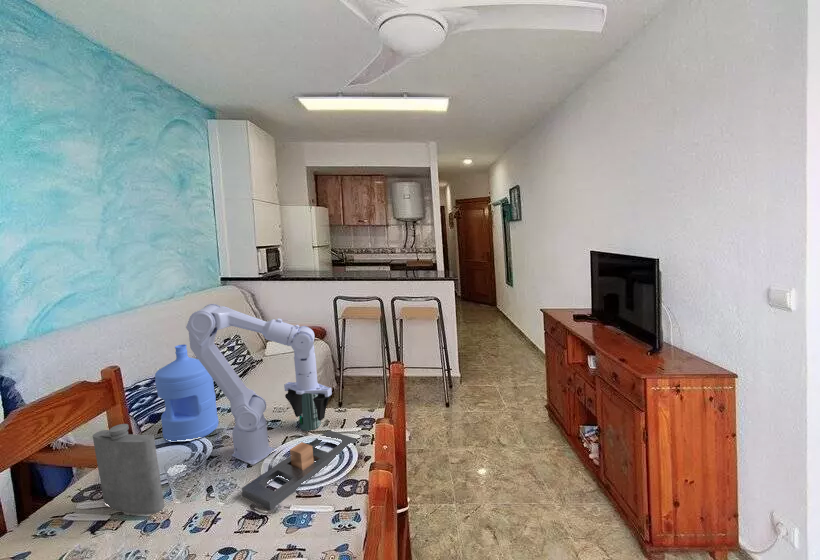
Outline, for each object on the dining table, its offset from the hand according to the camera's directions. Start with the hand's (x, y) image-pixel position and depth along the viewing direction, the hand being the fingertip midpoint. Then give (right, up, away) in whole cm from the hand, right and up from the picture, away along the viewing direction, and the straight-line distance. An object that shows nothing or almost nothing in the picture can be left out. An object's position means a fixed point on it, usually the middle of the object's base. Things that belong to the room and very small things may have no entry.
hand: (310, 417), depth 115 cm
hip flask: (-37, -14, -20) cm, 44 cm away
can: (-3, -8, +14) cm, 17 cm away
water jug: (-41, -10, +14) cm, 45 cm away
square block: (0, -11, -8) cm, 14 cm away
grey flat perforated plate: (0, -11, -8) cm, 13 cm away
